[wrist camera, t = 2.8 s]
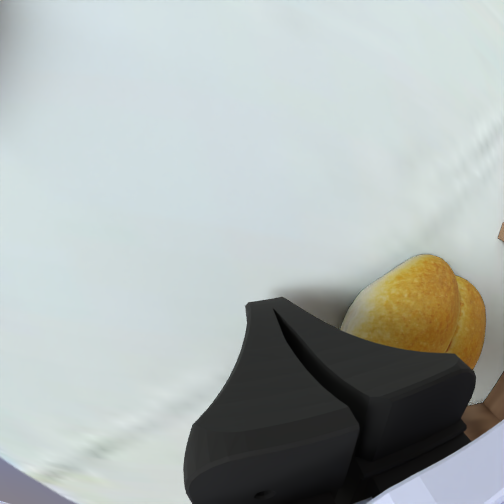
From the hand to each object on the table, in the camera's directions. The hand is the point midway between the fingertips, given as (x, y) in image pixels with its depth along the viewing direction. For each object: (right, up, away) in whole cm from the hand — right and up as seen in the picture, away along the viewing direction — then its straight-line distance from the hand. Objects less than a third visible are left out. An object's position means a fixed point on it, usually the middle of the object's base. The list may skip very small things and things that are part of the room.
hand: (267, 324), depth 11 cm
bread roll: (+7, -1, +4) cm, 9 cm away
